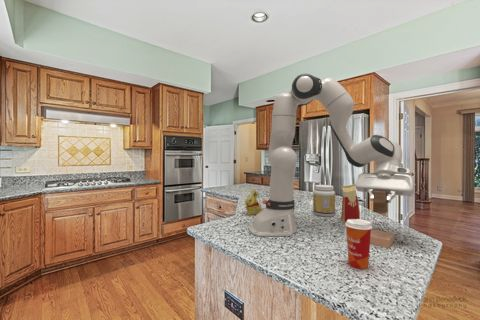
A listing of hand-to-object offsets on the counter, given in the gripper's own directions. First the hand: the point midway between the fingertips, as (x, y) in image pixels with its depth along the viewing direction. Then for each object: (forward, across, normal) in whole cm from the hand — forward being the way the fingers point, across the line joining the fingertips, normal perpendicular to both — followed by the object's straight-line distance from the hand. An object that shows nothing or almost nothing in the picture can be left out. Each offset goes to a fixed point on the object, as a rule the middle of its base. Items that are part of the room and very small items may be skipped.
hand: (380, 200), depth 91 cm
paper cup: (+29, -1, -4) cm, 29 cm away
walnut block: (+3, 0, +4) cm, 4 cm away
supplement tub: (-10, -36, +34) cm, 50 cm away
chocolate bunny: (+10, -66, +14) cm, 68 cm away
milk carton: (-6, -20, +31) cm, 37 cm away
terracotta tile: (+9, -2, +15) cm, 18 cm away
